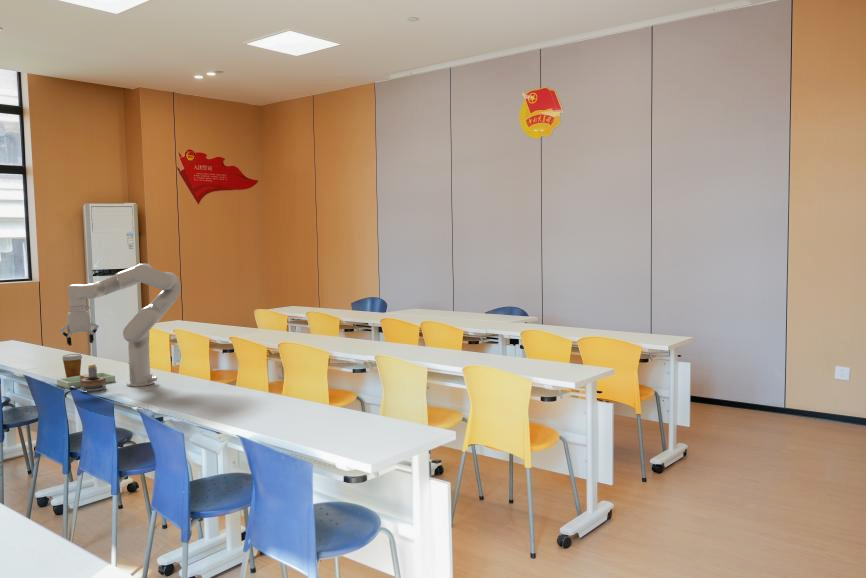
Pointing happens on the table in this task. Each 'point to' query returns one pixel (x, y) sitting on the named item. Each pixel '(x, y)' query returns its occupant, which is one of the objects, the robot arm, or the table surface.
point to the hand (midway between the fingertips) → (80, 344)
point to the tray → (77, 383)
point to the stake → (93, 376)
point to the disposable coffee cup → (72, 364)
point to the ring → (87, 382)
